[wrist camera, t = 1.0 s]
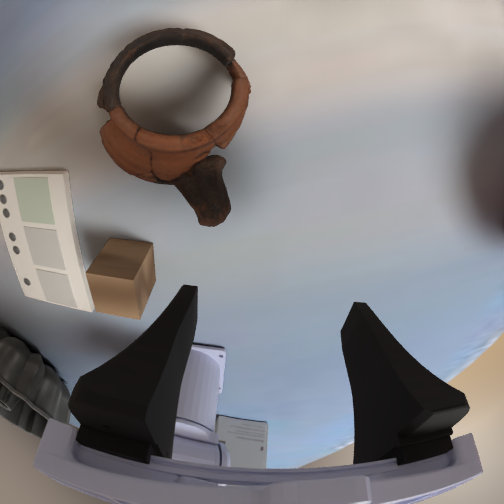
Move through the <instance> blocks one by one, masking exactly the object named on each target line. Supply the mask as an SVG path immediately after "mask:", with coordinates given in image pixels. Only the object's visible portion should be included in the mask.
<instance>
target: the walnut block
mask: <svg viewBox="0 0 504 504" xmlns="http://www.w3.org/2000/svg"><path fill="white" fill-rule="evenodd" d="M86 277H87V281H88V285H89V289H90V292H91V296H92V300H93V303H94V307H95V310H96V312H101V313H106V314H111V315H117V316H122V317H127V318H133V319H139V320H140V319H141V316H142V314H143V311H144V308H145V306H146V304H147V301H148V299H149V296H150V294H151V291H152V289H153V286H154V284H155V282H156V276H155V264H154V250H153V243H149V242H141V241H132V240H124V239H115V238H110V239H109V241H108V242H107V243H106V245H105V246H104V247H103V249H102V250H101V251H100V253H99V254H98V256H97V257H96V258H95V260H94V261H93V263H92V264H91V265H90V267H89V268H88V270H87V271H86Z"/></svg>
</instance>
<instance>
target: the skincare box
mask: <svg viewBox="0 0 504 504" xmlns="http://www.w3.org/2000/svg"><path fill="white" fill-rule="evenodd" d="M214 432H215V433H219V442H220V443H223V444H224V445H225V446H226V448H227V450H228V451H229V454H230V461H231V465H230V467H241V468H261V469H266V460H267V442H268V424H267V423H266V422H256V421H249V420H242V419H235V418H230V417H225V416H218V418H217V420H216V422H215V430H214ZM226 486H241V485H226Z"/></svg>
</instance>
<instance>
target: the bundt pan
mask: <svg viewBox="0 0 504 504" xmlns="http://www.w3.org/2000/svg"><path fill="white" fill-rule="evenodd" d="M69 399H70V393H69V390H68V388H67V387H66V385H65V384H64V383H63V382H62V381H61V380H60V378H59V376H58V375H57V373H56V372H55V371H54V370H53V369H52V368H51V367H49V366H48V365H46V364H44V363H43V360H42V357H41V355H40V354H37V353H30V350H29V349H28V347H27V346H26V344H25V343H24V342H22V341H21V340H19V339H17V338H14V337H10V335H9V333H8V332H7V331H6V330H5V329H4V328H1V327H0V416H1V417H2V418H4V419H6V420H7V421H8V422H10V423H12V424H13V425H15V426H17V427H19V428H20V429H22V430H23V431H25V432H26V433H29V434H32V435H34V436H35V437H38V438H39V439H42V436H43V433H44V430H45V427H46V425H47V422H48V419H50V418H52V419H54V420H57V421H59V422H62V423H64V424H67V425H69V420H70V414H71V411H70V409H69V408H68V401H69Z"/></svg>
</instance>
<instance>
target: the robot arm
mask: <svg viewBox="0 0 504 504" xmlns="http://www.w3.org/2000/svg"><path fill="white" fill-rule="evenodd" d="M197 300H198V286H191V285H183V286H182V287H181V288H180V290H179V291H178V293H177V294H176V296H175V297H174V298H173V300H172V301H171V302H170V304H169V305H168V306H167V308H166V309H165V310H164V311H163V312H162V314H161V315H160V316H159V317H158V318H157V319H156V320H155V321H154V323H153V324H152V325H151V326H150V327H149V328H148V329H147V330H146V331H145V332H144V333H143V334H142V335H141V336H140V337H139V338H138V339H136V340H135V341H134V342H133V343H132V344H131V345H129V346H128V347H127V348H126V349H124V350H123V351H122V352H120V353H119V354H118V355H116V356H115V357H113V358H112V359H110V360H109V361H107V362H106V363H104V364H103V365H101V366H99V367H98V368H96V369H94V370H92V371H90V372H88V373H86V374H85V375H83V376H80V378H79V380H78V382H77V383H76V385H75V387H74V389H73V391H72V394H71V396H70V399H69V401H68V408H69V409H70V411H71V413H72V414H73V415H74V416H75V418H76V419H77V420H78V421H79V423H80V424H81V425H80V428H79V431H78V430H77V429H75V428H74V427H72V426H69V425H67V424H64V423H62V422H59V421H57V420H54V419H52V418H50V419H48V422H47V425H46V427H45V430H44V433H43V436H42V439H41V442H40V445H39V448H38V450H37V453H36V457H35V460H34V463H33V467H34V468H35V469H37V470H38V471H40V472H42V473H43V474H45V475H46V476H48V477H50V478H51V479H53V480H55V481H57V482H58V483H61V484H63V485H65V486H67V487H70V488H72V489H75V490H77V491H80V492H82V493H85V494H87V495H90V496H93V497H96V498H98V499H101V500H104V501H107V502H110V503H113V504H413V503H416V502H419V501H422V500H425V499H428V498H431V497H434V496H436V495H439V494H442V493H444V492H447V491H449V490H451V489H454V488H456V487H458V486H460V485H462V484H464V483H466V482H467V481H469V480H471V479H473V478H475V477H477V476H478V475H480V474H482V473H483V469H482V466H481V462H480V459H479V455H478V452H477V448H476V445H475V442H474V438H473V435H472V433H469V434H466V435H463V436H460V437H457V438H455V439H453V440H451V438H450V435H452V434H453V430H452V427H453V426H454V425H455V424H456V423H458V422H459V421H460V420H461V419H462V418H463V417H464V416H465V415H466V414H467V413H468V411H469V409H470V407H469V404H468V402H467V399H466V397H465V394H464V393H463V392H461V391H459V390H457V389H455V388H453V387H451V386H450V385H448V384H447V383H445V382H444V381H442V380H441V379H439V378H438V377H436V376H435V375H434V374H432V373H431V372H430V371H429V370H427V369H426V368H425V367H424V366H422V365H421V364H420V363H419V362H418V361H417V360H416V359H415V358H414V357H412V356H411V355H410V354H409V353H408V352H407V351H406V350H405V349H404V348H403V346H402V345H401V344H400V343H399V342H398V341H397V340H396V339H395V338H394V336H393V335H392V334H391V333H390V332H389V331H388V329H387V328H386V327H385V326H384V325H383V323H382V322H381V321H380V320H379V318H378V317H377V316H376V315H375V313H374V312H373V311H372V310H371V309H370V307H369V306H368V305H367V304H366V303H361V302H354V303H353V305H352V308H351V310H350V312H349V314H348V317H347V319H346V321H345V323H344V325H343V327H342V329H341V342H342V350H343V355H344V359H345V364H346V368H347V372H348V377H349V381H350V386H351V391H352V397H353V408H354V428H355V435H354V460H353V465H344V466H334V467H322V468H300V469H261V468H241V467H230V465H231V461H230V454H229V451H228V450H227V448H226V446H225V445H224V444H223V443H220V442H219V433H215V432H214V430H215V420H216V410H217V400H218V394H220V393H222V388H223V378H224V368H225V358H226V350H225V349H223V348H217V347H208V346H201V345H193V340H194V336H195V330H196V324H197ZM226 485H241V486H226Z"/></svg>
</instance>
